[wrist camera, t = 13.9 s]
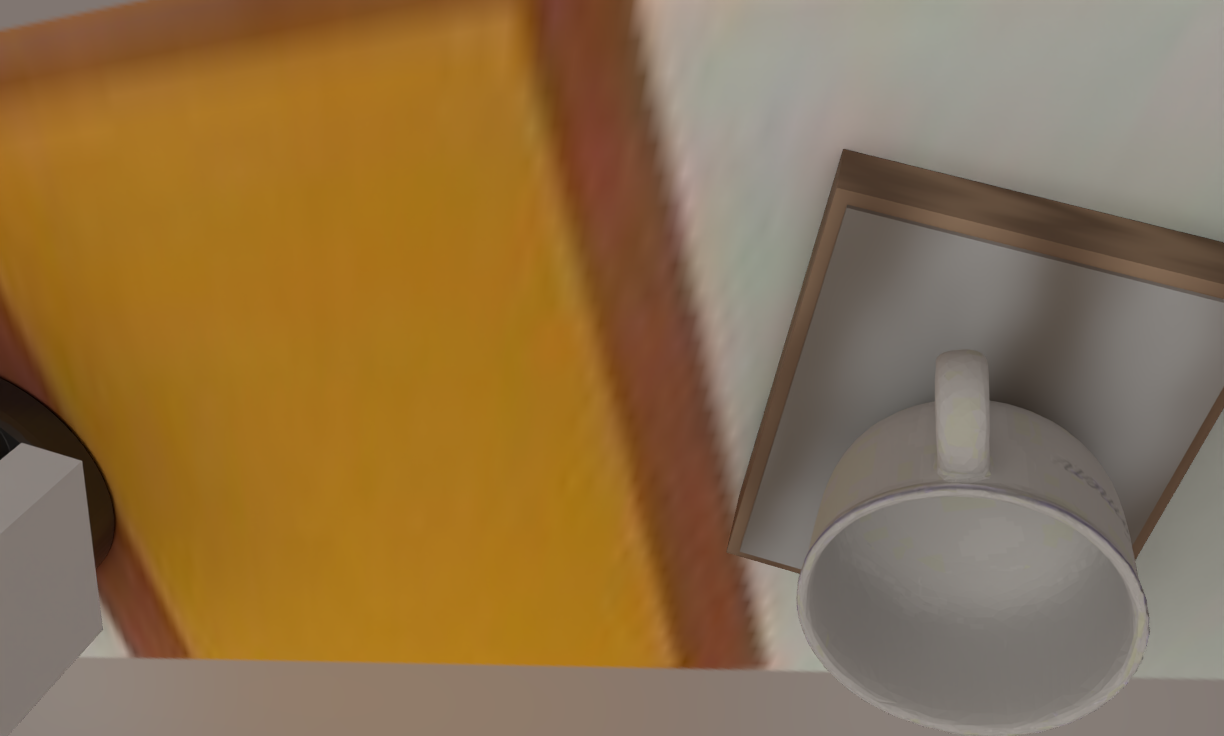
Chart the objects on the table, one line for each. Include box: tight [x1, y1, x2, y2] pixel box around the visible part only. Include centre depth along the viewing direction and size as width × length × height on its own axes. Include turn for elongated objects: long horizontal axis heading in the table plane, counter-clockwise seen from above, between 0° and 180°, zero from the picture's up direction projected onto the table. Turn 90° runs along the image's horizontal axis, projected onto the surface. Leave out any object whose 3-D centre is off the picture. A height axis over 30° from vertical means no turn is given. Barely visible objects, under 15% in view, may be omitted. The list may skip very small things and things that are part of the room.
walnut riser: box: [727, 149, 1224, 574], centre depth 43 cm, size 15×17×4 cm
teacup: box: [797, 349, 1150, 736], centre depth 38 cm, size 14×11×8 cm
